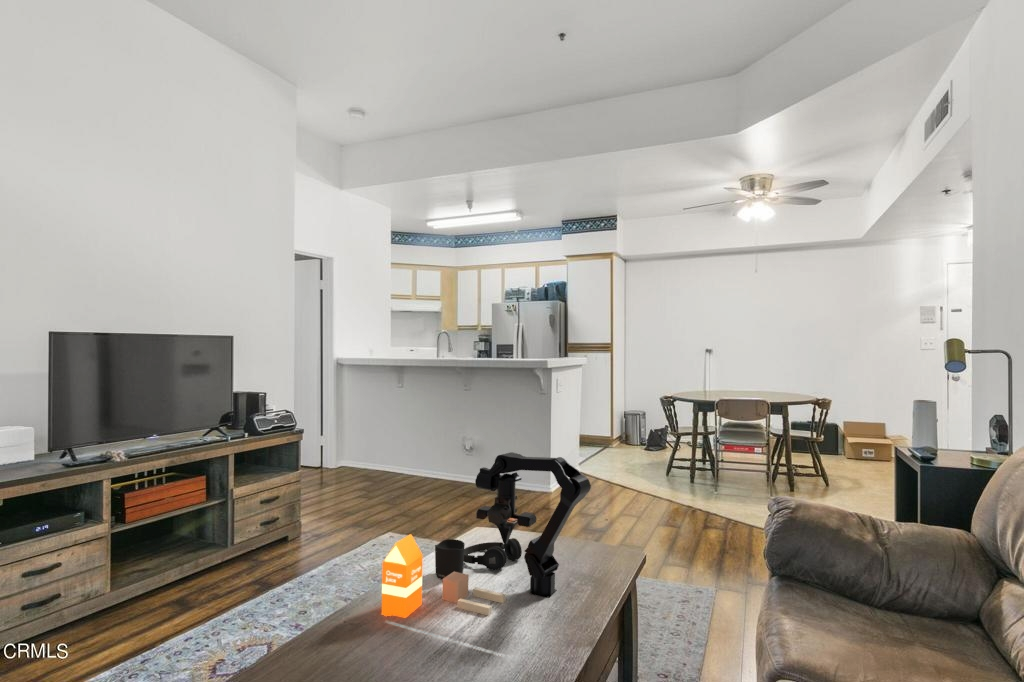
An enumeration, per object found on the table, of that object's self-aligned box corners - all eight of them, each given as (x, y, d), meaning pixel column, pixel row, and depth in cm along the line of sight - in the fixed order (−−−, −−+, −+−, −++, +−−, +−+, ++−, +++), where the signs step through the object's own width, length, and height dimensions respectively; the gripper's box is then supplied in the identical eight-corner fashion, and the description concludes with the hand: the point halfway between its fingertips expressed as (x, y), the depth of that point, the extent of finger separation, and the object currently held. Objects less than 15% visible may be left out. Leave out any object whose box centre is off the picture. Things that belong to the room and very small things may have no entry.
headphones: (496, 550, 183) (450, 547, 194) (499, 574, 182) (452, 569, 193) (525, 536, 197) (480, 534, 208) (527, 558, 196) (482, 554, 207)
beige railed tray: (507, 601, 163) (507, 593, 163) (486, 619, 152) (487, 609, 152) (454, 588, 171) (454, 580, 171) (431, 604, 160) (431, 595, 160)
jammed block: (468, 595, 165) (468, 574, 165) (457, 603, 160) (457, 582, 160) (453, 591, 168) (454, 571, 168) (442, 599, 162) (442, 578, 162)
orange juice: (380, 615, 153) (382, 541, 154) (398, 601, 162) (399, 531, 162) (406, 620, 151) (407, 545, 151) (422, 606, 159) (423, 535, 159)
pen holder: (431, 572, 184) (431, 541, 184) (458, 568, 187) (459, 537, 188) (439, 583, 175) (439, 550, 175) (467, 578, 179) (468, 547, 179)
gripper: (467, 495, 174) (466, 546, 174) (521, 503, 166) (521, 557, 166) (485, 487, 184) (484, 535, 184) (537, 495, 176) (536, 545, 176)
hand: (505, 543), depth 177 cm, fingers closed
